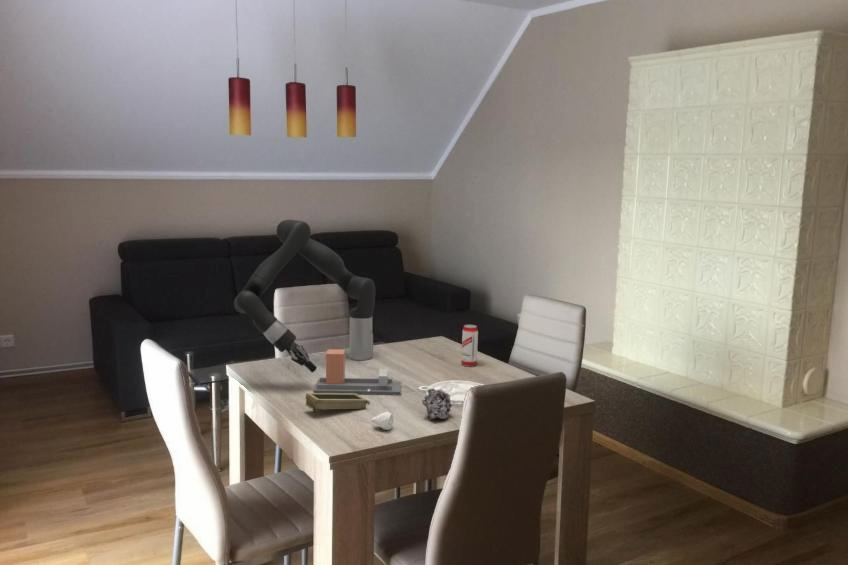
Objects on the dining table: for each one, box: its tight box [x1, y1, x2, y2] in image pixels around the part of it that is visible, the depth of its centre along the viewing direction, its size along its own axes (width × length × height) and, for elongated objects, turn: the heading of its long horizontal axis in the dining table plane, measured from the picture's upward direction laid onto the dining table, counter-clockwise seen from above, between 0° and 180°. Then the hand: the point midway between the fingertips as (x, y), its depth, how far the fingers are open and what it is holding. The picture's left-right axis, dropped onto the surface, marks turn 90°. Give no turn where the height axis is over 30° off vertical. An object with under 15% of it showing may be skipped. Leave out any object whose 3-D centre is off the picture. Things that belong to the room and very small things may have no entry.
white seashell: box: [371, 411, 394, 431], centre depth 218 cm, size 6×6×5 cm
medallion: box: [417, 379, 484, 408], centre depth 252 cm, size 24×27×2 cm
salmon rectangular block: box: [325, 348, 346, 384], centre depth 254 cm, size 6×6×12 cm
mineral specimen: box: [421, 389, 453, 421], centre depth 230 cm, size 13×10×11 cm
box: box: [305, 392, 371, 412], centre depth 234 cm, size 8×22×5 cm, turn 126°
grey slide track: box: [313, 368, 402, 396], centre depth 255 cm, size 30×12×6 cm, turn 92°
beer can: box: [460, 324, 479, 368], centre depth 288 cm, size 6×6×16 cm
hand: (314, 370), depth 254 cm, fingers closed
